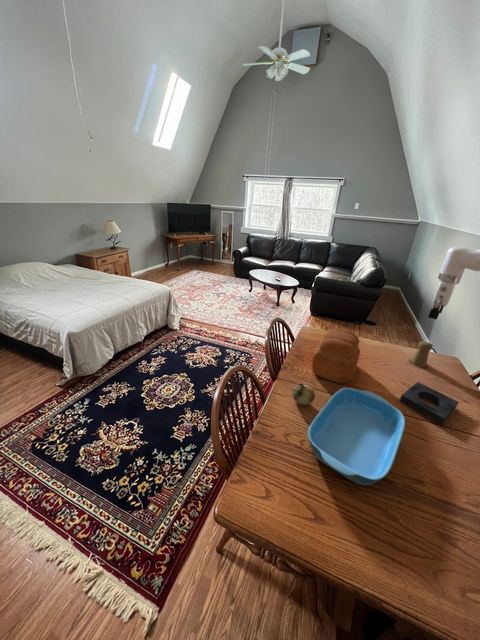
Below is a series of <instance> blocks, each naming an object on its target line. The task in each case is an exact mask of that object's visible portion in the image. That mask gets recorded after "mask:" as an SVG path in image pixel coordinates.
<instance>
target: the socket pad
mask: <svg viewBox="0 0 480 640" xmlns="http://www.w3.org/2000/svg"><path fill="white" fill-rule="evenodd" d="M422 399H426V400H429V401H431V402H432V403H434V404H435V405H433V404H430V403H427V402H426V401H424V400H422ZM399 402H400V403H402V404H404V405H405V406H407V407H409V408H410V409H412V410H414V411H416V412H417V413H419V414H421V415H422V416H425V417H426V418H428V419H430V420H432V421H433V422H434V423H437V424H439V425H441V426H442V425H443V424H444V423H445V422H446V421H447V419H448V418H449V417H450V416H451V415H452V413H453V412H454V411H455V410H456V409H457V406H458V405H459V402H460V401H457V400H456V399H453V398H451V397H450V396H447V395H445V394H444V393H441V392H439V391H438V390H435V389H433V388H431V387H429V386H427V385H426V384H423V383H421V382H419V381H416V382H415V383H414V384H413V385H412V386H411V387H409V388H408V389H407V390H406V391H405V392H404V393H403V394H401V396H400V398H399Z"/></svg>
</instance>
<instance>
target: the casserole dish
mask: <svg viewBox="0 0 480 640" xmlns="http://www.w3.org/2000/svg"><path fill="white" fill-rule="evenodd" d="M405 426H406V420H405V416H404V414H403V413H402V412H401V411H400V410H399V409H398V408H396V407H395V406H394V405H392V404H391V403H389V402H388V400H387V399H385V398H384V397H382V396H380V395H379V394H376V393H374V392H372V391H368V390H363V389H362V390H361V389H357V388H352V387H343V388H340V389H338V390H337V391H336V392H335V393H334V394H333V395H332V396H331V397H330V399H329V400H328V401H327V403H326V404H325V405H324V406H323V407H322V408H321V410H320V411H319V412H318V414H316V416H315V417H314V419H313V420H312V422H311V423H310V425H309V427H308V431H307V436H308V441H309V445H310V449H311V450H312V453H313V454H314V456H315V457H316V459H318V460H319V461H320V462H321V463H322V464H324V465H326V466H327V467H329V468H330V469H332V470H333V471H335V472H336V473H339V474H340V475H341V476H343V477H344V478H346V479H347V480H350V481H351V482H352V483H355V484H357V485H361V486H371V485H373V484H375V483H377V482H379V481H381V480H382V479H384V478H385V477H386V476H387V475H388V474H389V473H390V471H391V469H392V467H393V465H394V462H395V459H396V457H397V454H398V450H399V447H400V444H401V441H402V438H403V435H404V431H405V428H406V427H405Z"/></svg>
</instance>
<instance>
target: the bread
mask: <svg viewBox="0 0 480 640" xmlns="http://www.w3.org/2000/svg"><path fill="white" fill-rule="evenodd" d="M359 345H360V339H359V337H358V336H357V335H356V333H354V332H352V331H350V330H347V329H343V328H331V329H328V330H327V331H326V332H325V333H324V335H323V337H322V338H321V340H320V342H319V344H318V345H317V346H316V348H315V351H314V353H313V356H312V358H311V369H312V372H313V373H314V375H315V376H318V377H320V378H322V379H323V380H328V381H330V382H333V383H337V384H347V383H350V382H351V381H352V379H353V377H354V376H355V373H356V370H357V367H358V362H359V359H360V355H361V350H360V347H359Z"/></svg>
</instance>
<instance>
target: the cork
mask: <svg viewBox="0 0 480 640" xmlns="http://www.w3.org/2000/svg"><path fill="white" fill-rule="evenodd" d="M432 349H433V344H432V343H431V342H429V341H425V340H421V341H420V342H419V343H418V348H417V349H416V351H415V353H414V355H413V356H412V358H411V360H410V361H411V363H412V364H413V365H415V366H417V367H421V368H424V367H425V368H426V366H427V363H428V359H429V355H430V351H431V350H432Z"/></svg>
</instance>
